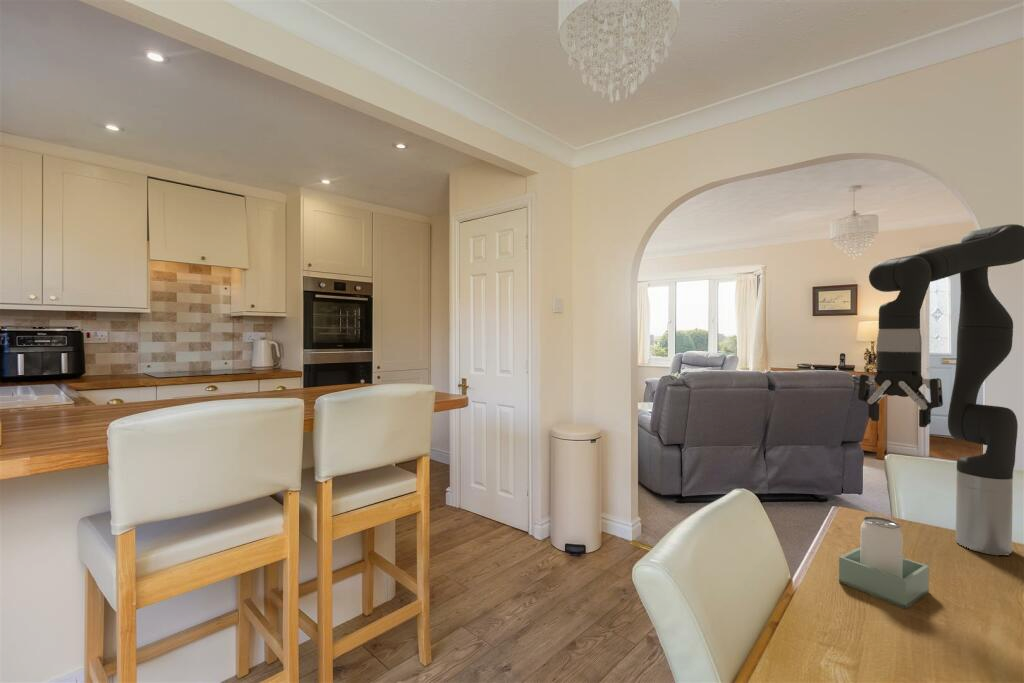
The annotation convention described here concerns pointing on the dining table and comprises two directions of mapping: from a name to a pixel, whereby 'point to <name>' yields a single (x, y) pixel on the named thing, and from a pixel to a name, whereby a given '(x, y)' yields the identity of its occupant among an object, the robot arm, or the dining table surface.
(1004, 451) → the robot arm
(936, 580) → the dining table surface
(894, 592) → the bin
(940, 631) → the dining table surface
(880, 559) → the can
